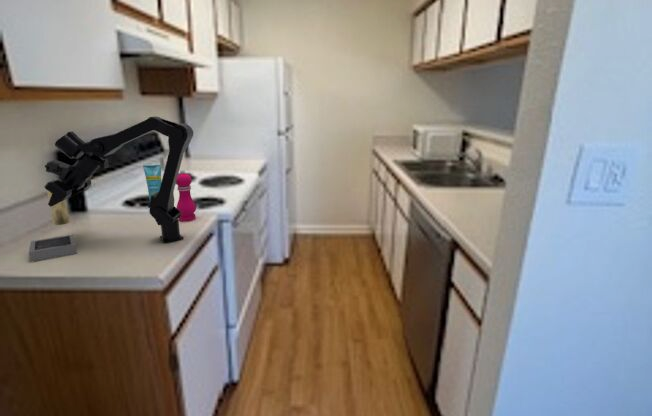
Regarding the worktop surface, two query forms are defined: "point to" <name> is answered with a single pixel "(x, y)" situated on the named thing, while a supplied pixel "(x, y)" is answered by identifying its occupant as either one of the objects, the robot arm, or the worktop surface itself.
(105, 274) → the worktop surface
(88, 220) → the worktop surface
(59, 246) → the collar
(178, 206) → the pepper mill
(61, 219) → the beige tall cylinder
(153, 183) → the tube
